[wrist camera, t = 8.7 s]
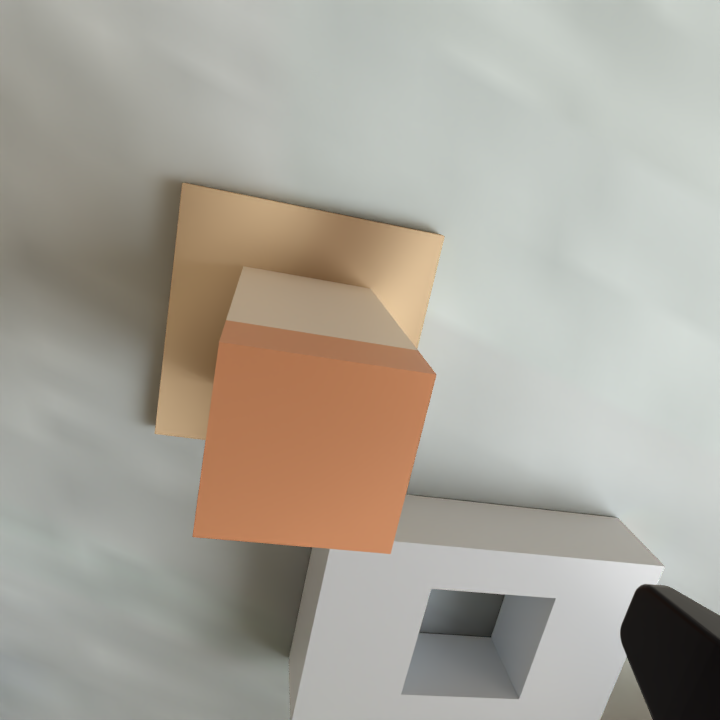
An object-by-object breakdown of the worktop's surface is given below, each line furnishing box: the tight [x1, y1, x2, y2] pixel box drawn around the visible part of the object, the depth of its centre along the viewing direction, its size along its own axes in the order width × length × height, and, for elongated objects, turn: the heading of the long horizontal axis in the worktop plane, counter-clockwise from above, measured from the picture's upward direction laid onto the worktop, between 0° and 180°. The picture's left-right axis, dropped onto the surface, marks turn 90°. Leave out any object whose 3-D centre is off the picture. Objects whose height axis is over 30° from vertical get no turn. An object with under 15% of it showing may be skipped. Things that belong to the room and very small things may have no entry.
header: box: [289, 495, 665, 720], centre depth 22 cm, size 12×8×3 cm, turn 78°
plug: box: [193, 266, 436, 554], centre depth 15 cm, size 4×4×8 cm
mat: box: [155, 183, 445, 440], centre depth 19 cm, size 8×8×1 cm
